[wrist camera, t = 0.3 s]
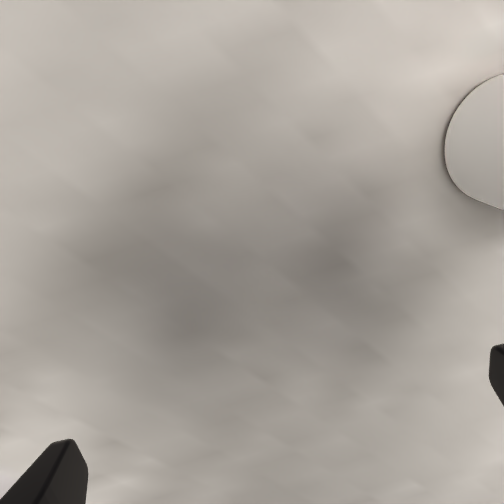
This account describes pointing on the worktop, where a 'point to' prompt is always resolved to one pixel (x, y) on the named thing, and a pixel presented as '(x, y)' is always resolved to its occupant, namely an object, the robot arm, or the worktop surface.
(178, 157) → the worktop surface
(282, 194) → the worktop surface
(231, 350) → the worktop surface
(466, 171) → the can
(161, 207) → the worktop surface
